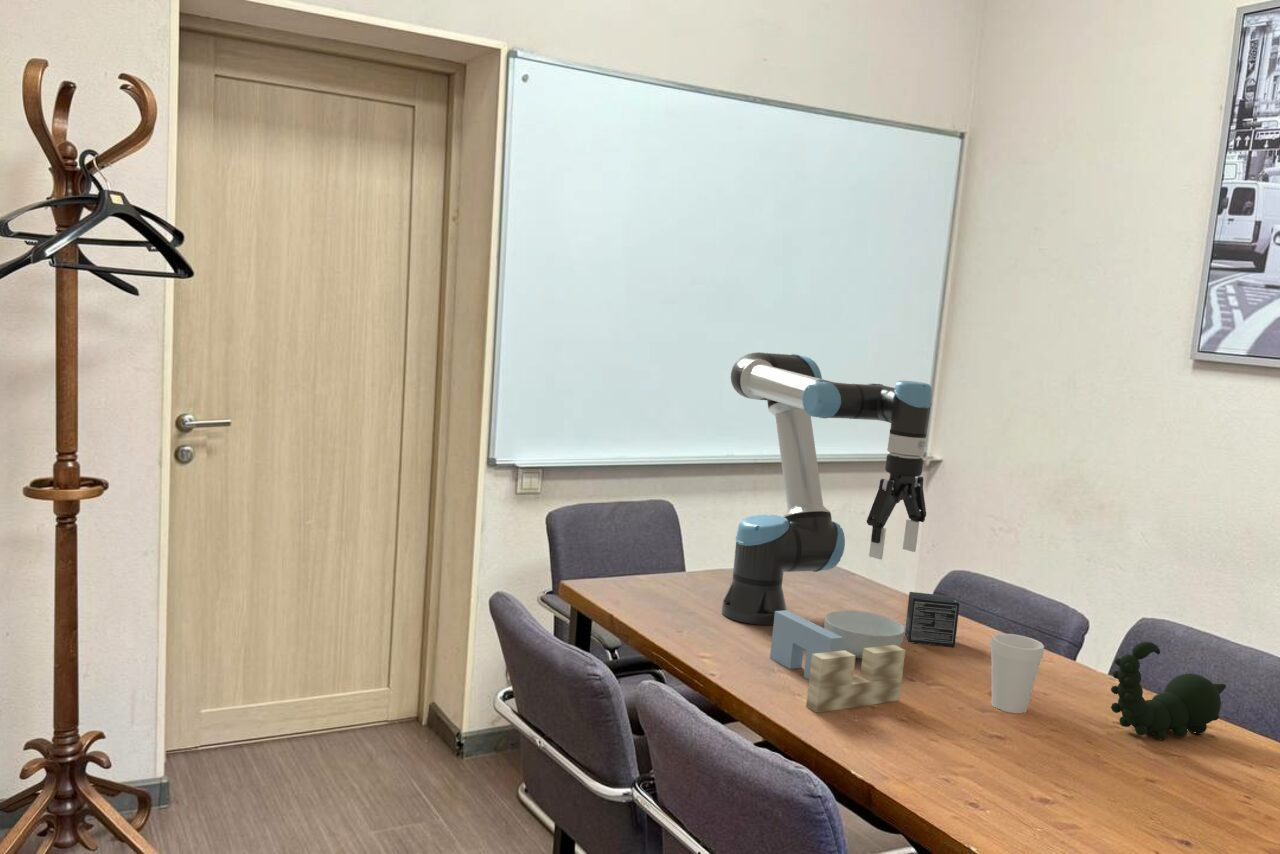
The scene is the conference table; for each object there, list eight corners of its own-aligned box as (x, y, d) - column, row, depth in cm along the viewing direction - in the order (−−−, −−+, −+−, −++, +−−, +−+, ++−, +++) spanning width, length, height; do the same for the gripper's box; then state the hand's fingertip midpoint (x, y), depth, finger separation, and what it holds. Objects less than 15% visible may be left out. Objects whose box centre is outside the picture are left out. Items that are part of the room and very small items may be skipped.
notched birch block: (816, 712, 194) (822, 659, 193) (806, 706, 196) (812, 653, 195) (899, 700, 204) (905, 649, 202) (888, 695, 206) (894, 644, 205)
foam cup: (1034, 704, 209) (1043, 639, 207) (1035, 720, 200) (1044, 652, 198) (983, 694, 212) (992, 630, 210) (982, 709, 203) (991, 643, 201)
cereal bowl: (817, 658, 225) (820, 625, 224) (825, 636, 241) (828, 605, 240) (899, 672, 220) (903, 639, 220) (902, 649, 236) (906, 618, 236)
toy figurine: (1134, 756, 191) (1243, 737, 199) (1141, 654, 188) (1251, 639, 196) (1096, 734, 200) (1202, 717, 208) (1103, 637, 197) (1209, 623, 205)
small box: (950, 639, 247) (955, 595, 246) (955, 648, 241) (961, 603, 239) (903, 634, 248) (908, 590, 247) (907, 642, 242) (913, 597, 240)
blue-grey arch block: (769, 658, 222) (774, 611, 221) (781, 656, 224) (786, 610, 222) (825, 688, 207) (831, 638, 205) (837, 687, 208) (843, 637, 207)
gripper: (889, 461, 213) (876, 565, 215) (950, 455, 231) (937, 551, 233) (857, 454, 218) (845, 556, 220) (919, 449, 236) (907, 543, 238)
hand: (892, 554), depth 227 cm, fingers open, 13 cm apart
